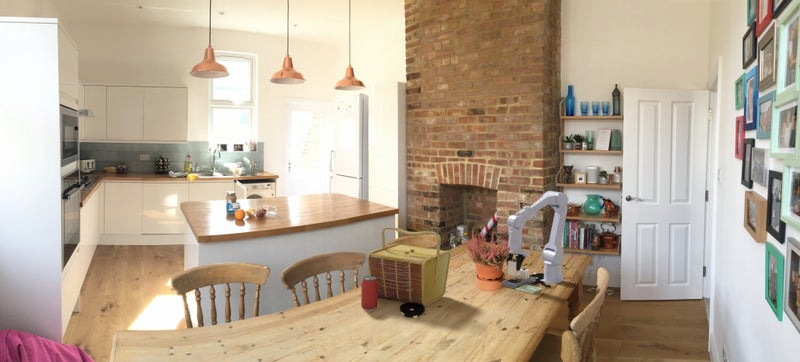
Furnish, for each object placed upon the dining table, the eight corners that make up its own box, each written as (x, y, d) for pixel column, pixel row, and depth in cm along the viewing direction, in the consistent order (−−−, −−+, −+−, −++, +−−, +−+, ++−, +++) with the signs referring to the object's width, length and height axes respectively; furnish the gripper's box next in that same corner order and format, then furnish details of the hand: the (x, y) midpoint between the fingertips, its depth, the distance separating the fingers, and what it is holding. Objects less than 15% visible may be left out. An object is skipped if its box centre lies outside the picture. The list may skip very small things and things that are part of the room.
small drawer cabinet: (520, 279, 258) (521, 272, 257) (535, 282, 252) (535, 276, 252) (501, 286, 245) (501, 280, 244) (515, 290, 239) (516, 283, 239)
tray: (525, 287, 245) (525, 284, 245) (541, 290, 239) (541, 288, 239) (515, 290, 239) (515, 288, 238) (532, 294, 233) (532, 292, 233)
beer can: (375, 309, 210) (375, 280, 209) (359, 308, 212) (359, 279, 210) (379, 304, 217) (379, 276, 216) (363, 303, 218) (363, 275, 217)
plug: (512, 272, 247) (512, 257, 247) (519, 274, 245) (520, 259, 244) (507, 274, 245) (508, 259, 244) (515, 276, 242) (515, 260, 241)
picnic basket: (452, 295, 231) (453, 228, 228) (425, 311, 209) (426, 237, 206) (395, 284, 246) (396, 221, 243) (364, 299, 224) (365, 230, 221)
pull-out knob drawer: (521, 281, 255) (522, 266, 254) (529, 282, 252) (529, 268, 251) (517, 282, 252) (518, 268, 251) (524, 284, 249) (525, 269, 248)
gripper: (497, 239, 245) (496, 268, 247) (524, 244, 235) (523, 274, 237) (505, 237, 250) (504, 265, 252) (532, 242, 241) (531, 271, 242)
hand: (514, 269), depth 245 cm, fingers closed on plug, 4 cm apart
